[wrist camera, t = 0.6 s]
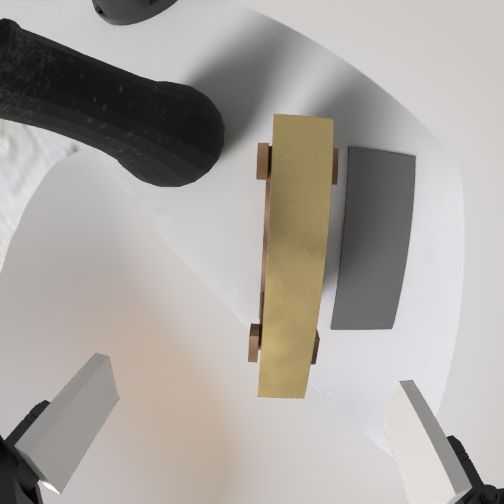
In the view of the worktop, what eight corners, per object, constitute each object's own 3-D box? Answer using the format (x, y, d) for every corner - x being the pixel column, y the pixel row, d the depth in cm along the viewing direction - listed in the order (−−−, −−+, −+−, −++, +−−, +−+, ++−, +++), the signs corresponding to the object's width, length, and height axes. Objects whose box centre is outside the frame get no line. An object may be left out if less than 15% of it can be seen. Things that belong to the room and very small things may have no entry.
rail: (272, 129, 23) (273, 113, 17) (319, 132, 22) (333, 119, 17) (260, 361, 28) (257, 396, 22) (299, 363, 27) (304, 398, 22)
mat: (348, 146, 31) (349, 146, 30) (413, 157, 30) (415, 157, 30) (330, 328, 36) (331, 329, 36) (390, 327, 36) (391, 329, 35)
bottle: (133, 164, 33) (-103, 163, 4) (173, 90, 30) (-10, -45, 1) (204, 202, 33) (-39, 289, 4) (248, 124, 31) (150, -98, 2)
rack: (262, 152, 32) (258, 135, 21) (316, 155, 31) (338, 141, 20) (254, 314, 36) (247, 366, 25) (302, 317, 36) (314, 369, 25)
